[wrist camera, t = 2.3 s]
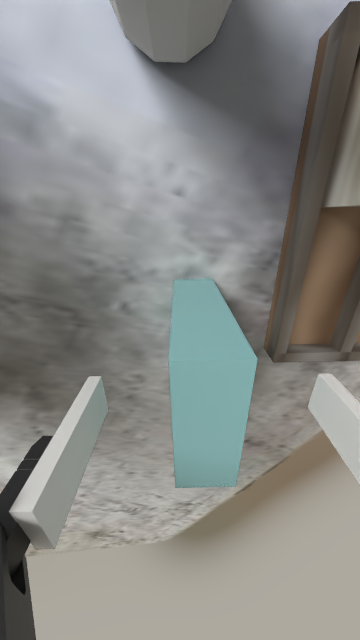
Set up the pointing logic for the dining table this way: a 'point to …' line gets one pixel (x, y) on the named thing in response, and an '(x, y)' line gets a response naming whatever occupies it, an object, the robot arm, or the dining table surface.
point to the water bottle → (170, 26)
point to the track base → (324, 214)
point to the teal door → (207, 386)
